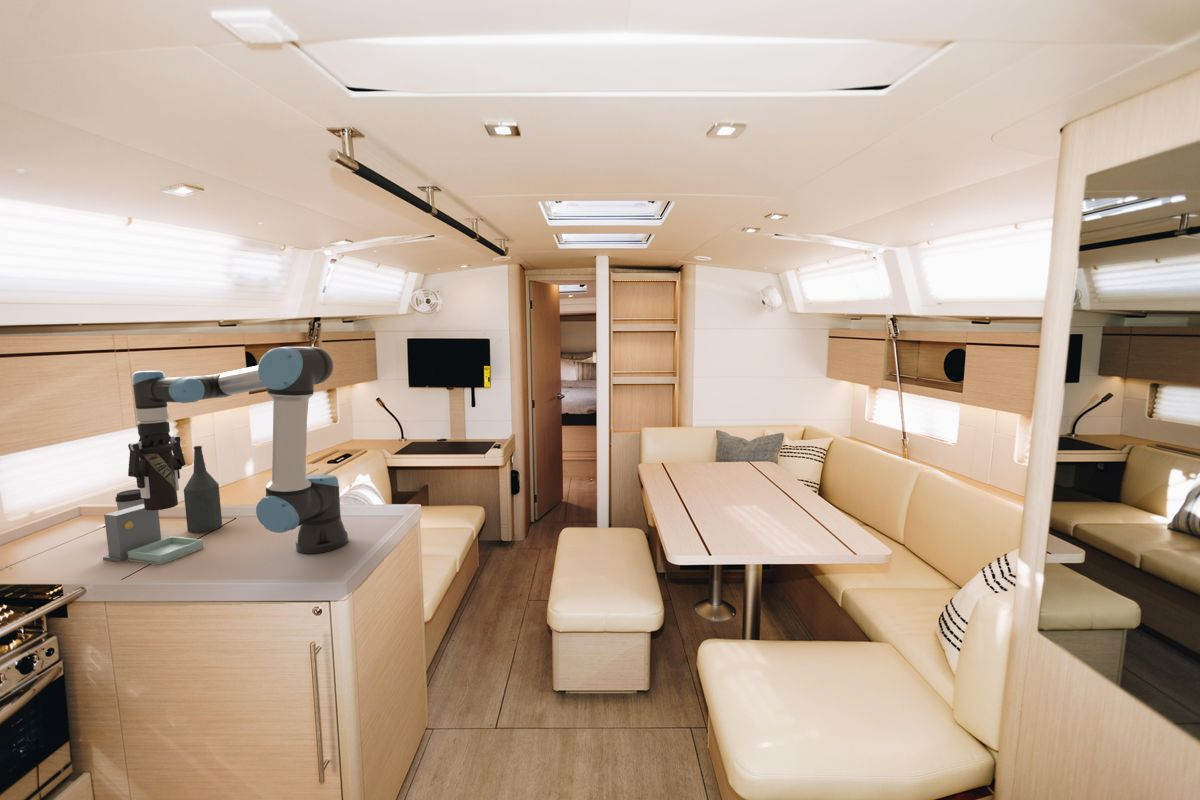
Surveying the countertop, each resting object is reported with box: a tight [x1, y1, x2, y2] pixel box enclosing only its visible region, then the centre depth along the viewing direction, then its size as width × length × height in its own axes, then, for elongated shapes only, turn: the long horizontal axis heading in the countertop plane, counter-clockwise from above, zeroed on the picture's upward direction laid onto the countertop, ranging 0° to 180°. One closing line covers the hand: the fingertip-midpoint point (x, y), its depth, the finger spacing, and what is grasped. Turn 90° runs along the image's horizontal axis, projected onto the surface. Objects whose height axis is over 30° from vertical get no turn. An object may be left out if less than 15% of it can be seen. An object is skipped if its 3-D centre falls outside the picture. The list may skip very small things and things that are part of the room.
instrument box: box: [102, 504, 162, 562], centre depth 170 cm, size 7×14×14 cm, turn 165°
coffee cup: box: [114, 488, 144, 511], centre depth 186 cm, size 8×8×15 cm
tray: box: [127, 535, 205, 566], centre depth 169 cm, size 13×13×3 cm
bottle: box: [183, 445, 223, 534], centre depth 190 cm, size 10×10×30 cm
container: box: [140, 442, 179, 511], centre depth 166 cm, size 9×9×20 cm
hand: (160, 493), depth 167 cm, fingers closed on container, 8 cm apart
